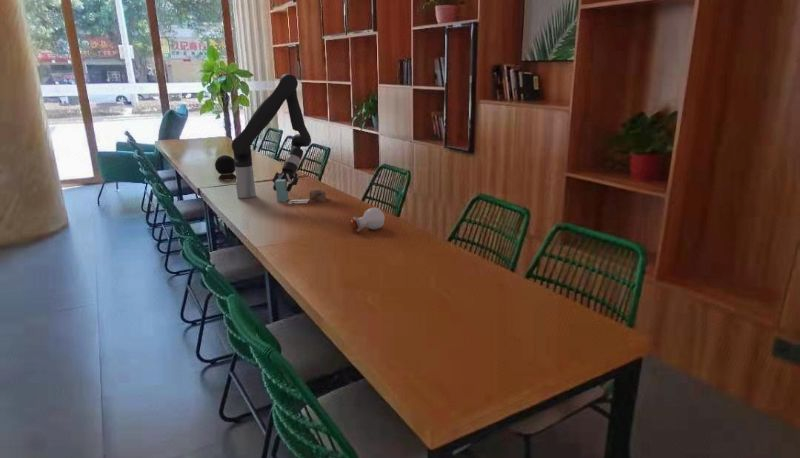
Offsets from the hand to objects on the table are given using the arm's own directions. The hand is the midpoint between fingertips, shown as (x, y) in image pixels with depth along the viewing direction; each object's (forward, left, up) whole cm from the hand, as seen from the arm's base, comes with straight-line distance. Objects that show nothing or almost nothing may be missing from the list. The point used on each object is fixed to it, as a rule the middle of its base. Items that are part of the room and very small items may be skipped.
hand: (281, 190), depth 275 cm
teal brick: (0, +1, -6) cm, 6 cm away
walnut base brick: (+19, -1, -6) cm, 20 cm away
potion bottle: (+48, -57, -6) cm, 75 cm away
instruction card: (+9, -3, -6) cm, 11 cm away
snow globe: (-49, +67, -6) cm, 83 cm away
